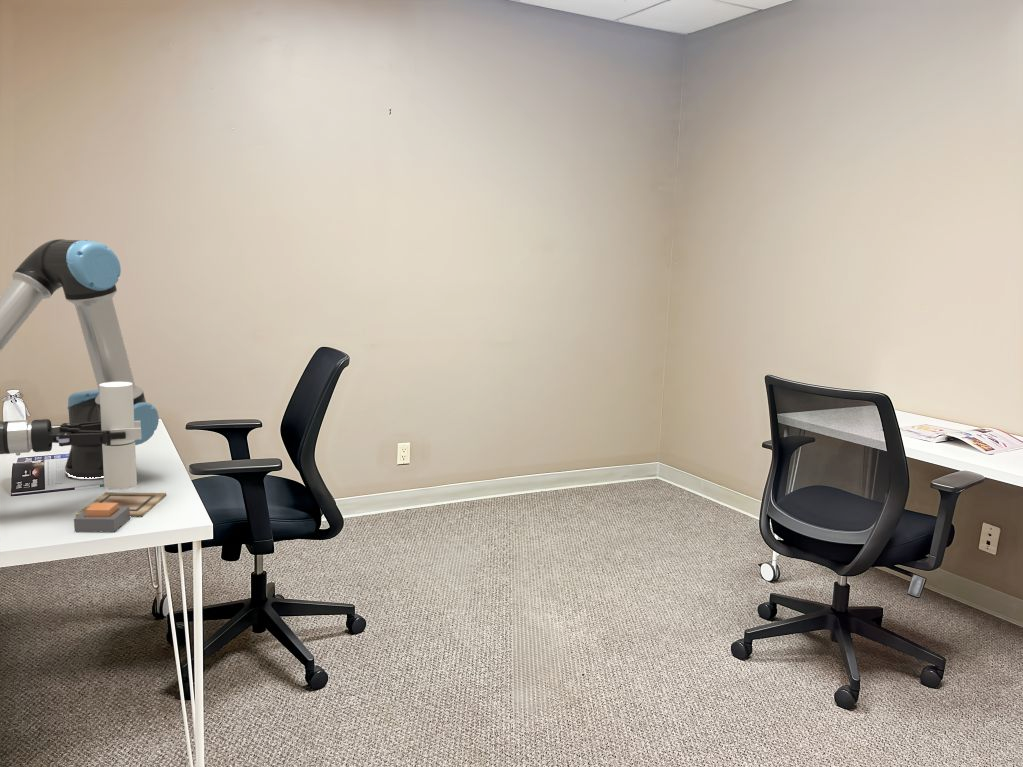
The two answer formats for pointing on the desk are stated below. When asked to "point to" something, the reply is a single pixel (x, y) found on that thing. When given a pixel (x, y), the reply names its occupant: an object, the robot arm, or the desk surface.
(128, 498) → the picture board
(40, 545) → the desk surface
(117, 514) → the button housing
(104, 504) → the button
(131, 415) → the cylindrical container
